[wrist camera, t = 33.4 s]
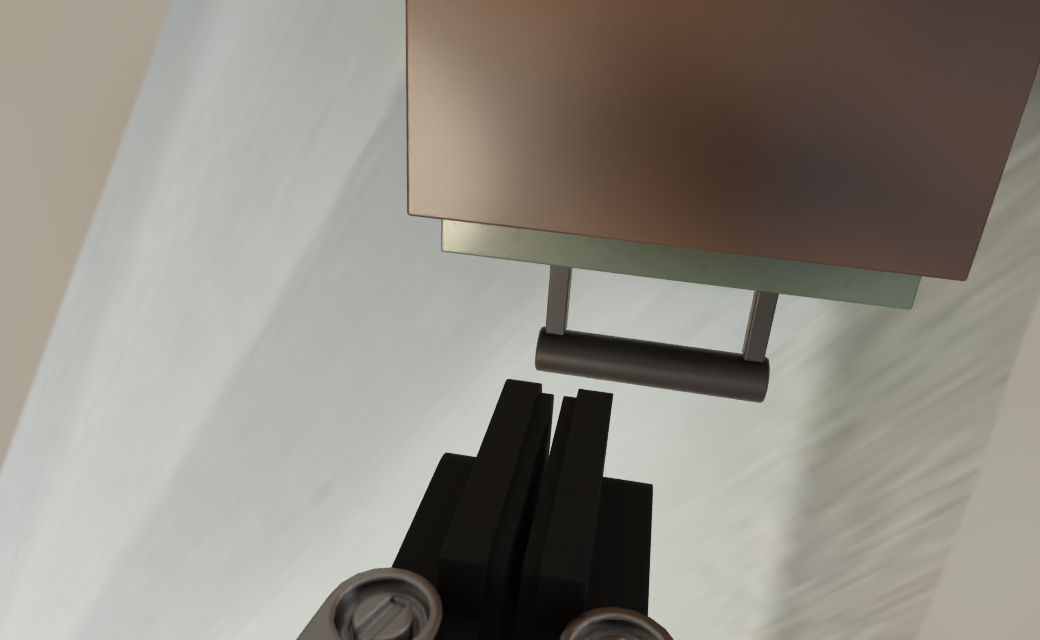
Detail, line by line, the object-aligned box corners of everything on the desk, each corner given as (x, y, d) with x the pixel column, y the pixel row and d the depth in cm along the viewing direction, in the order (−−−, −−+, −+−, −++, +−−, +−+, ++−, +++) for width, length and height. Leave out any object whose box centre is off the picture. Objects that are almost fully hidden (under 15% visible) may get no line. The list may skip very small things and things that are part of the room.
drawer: (811, 331, 28) (860, 477, 20) (503, 291, 30) (438, 411, 22) (980, -344, 20) (1175, -542, 12) (536, -347, 22) (449, -521, 14)
